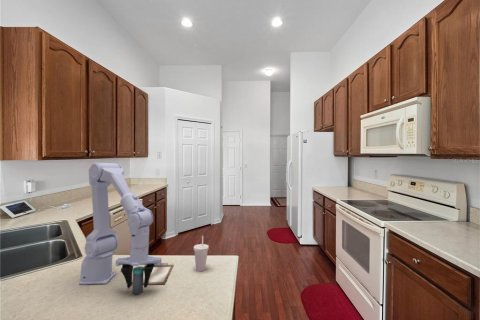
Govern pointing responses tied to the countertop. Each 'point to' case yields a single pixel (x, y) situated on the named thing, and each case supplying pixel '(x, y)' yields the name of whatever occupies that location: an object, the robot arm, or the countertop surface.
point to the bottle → (138, 280)
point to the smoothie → (200, 256)
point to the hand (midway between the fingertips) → (137, 286)
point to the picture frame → (159, 274)
